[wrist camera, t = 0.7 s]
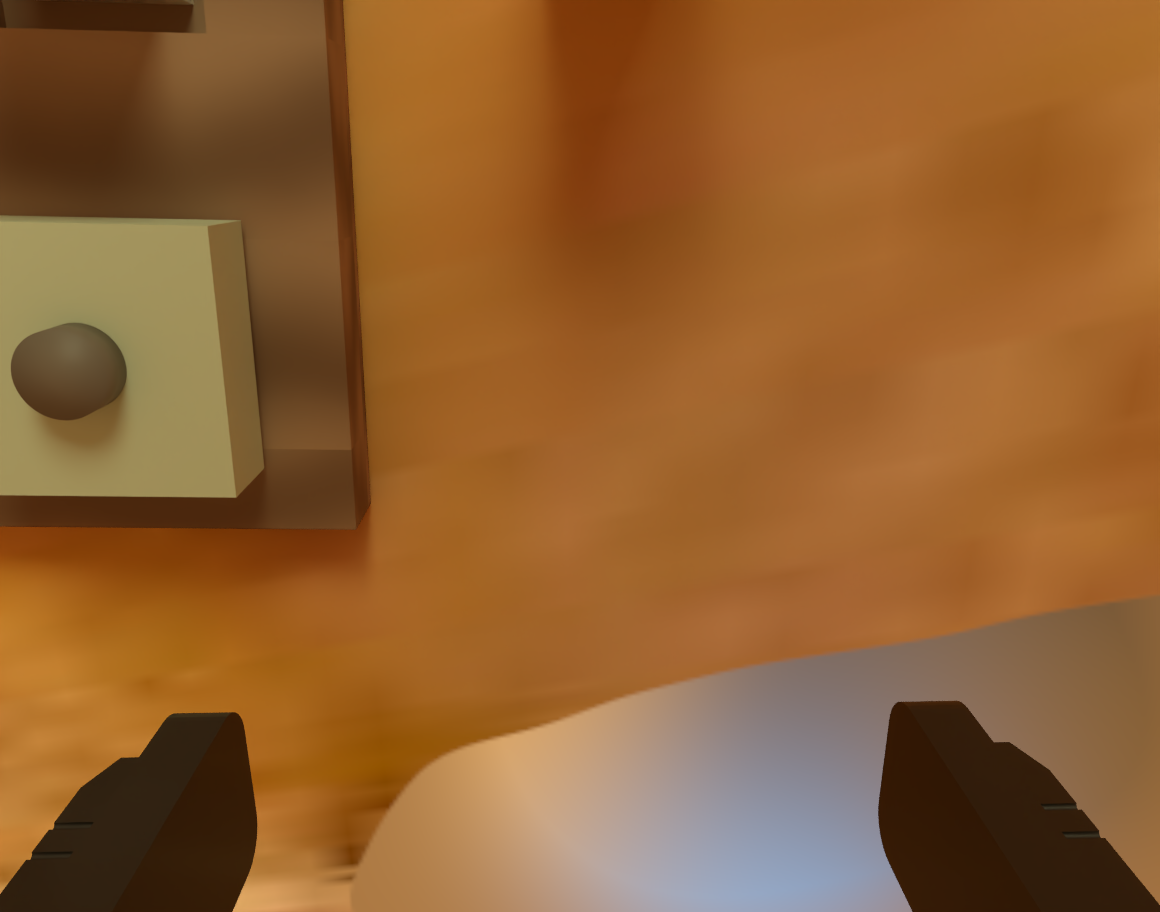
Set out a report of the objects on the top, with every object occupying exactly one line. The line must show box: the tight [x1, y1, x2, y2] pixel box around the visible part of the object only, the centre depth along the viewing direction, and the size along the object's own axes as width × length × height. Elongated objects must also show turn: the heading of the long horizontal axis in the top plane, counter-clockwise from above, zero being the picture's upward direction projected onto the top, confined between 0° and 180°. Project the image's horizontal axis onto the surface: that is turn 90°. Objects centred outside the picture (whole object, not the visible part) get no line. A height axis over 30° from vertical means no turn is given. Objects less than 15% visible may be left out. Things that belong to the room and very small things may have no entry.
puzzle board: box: [0, 0, 371, 530], centre depth 26 cm, size 24×18×2 cm
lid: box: [0, 215, 264, 498], centre depth 25 cm, size 8×8×4 cm
